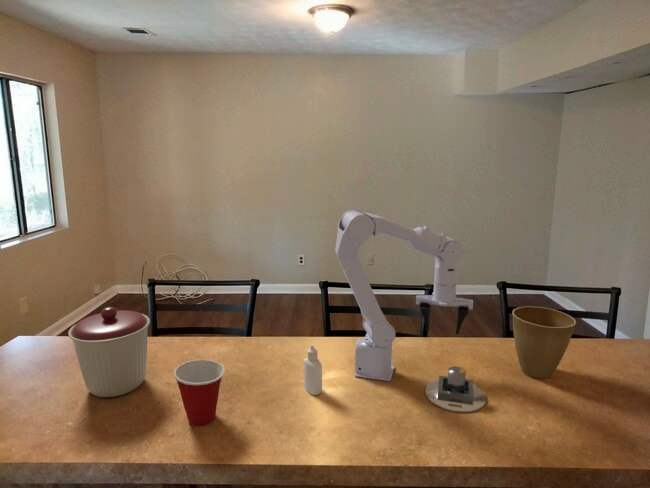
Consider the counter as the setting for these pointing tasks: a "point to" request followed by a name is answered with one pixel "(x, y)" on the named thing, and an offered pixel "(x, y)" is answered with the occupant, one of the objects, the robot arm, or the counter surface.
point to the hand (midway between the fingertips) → (442, 331)
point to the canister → (112, 351)
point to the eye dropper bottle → (312, 372)
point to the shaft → (456, 379)
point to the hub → (455, 396)
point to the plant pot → (541, 339)
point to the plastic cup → (199, 389)
